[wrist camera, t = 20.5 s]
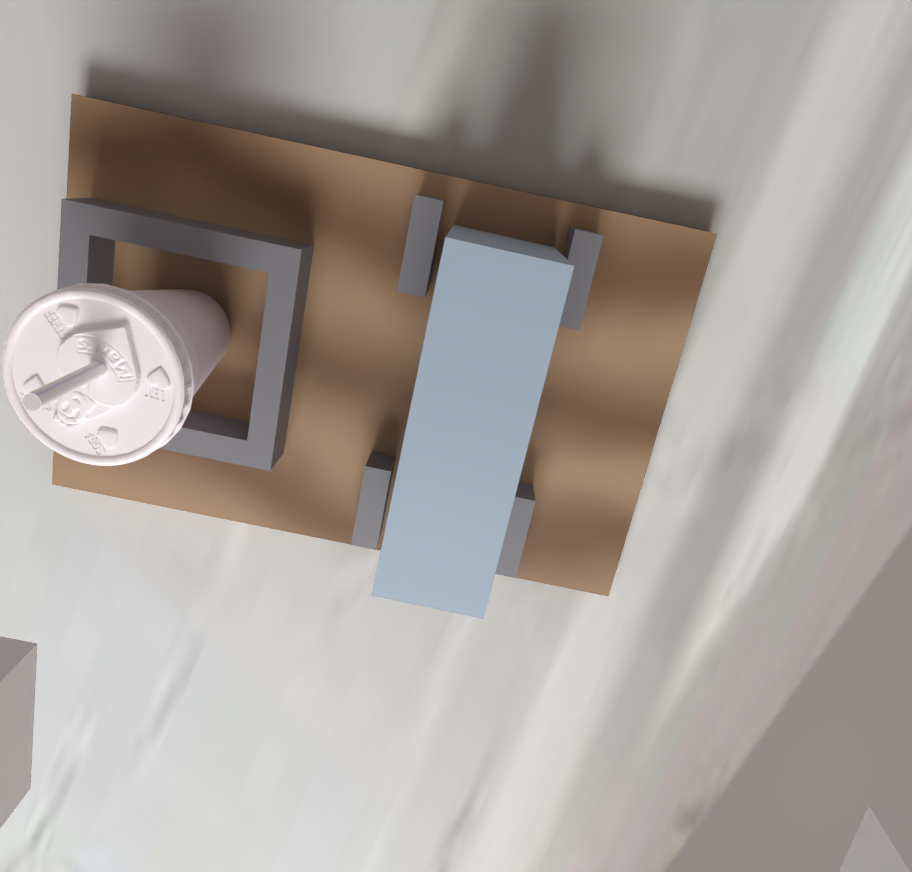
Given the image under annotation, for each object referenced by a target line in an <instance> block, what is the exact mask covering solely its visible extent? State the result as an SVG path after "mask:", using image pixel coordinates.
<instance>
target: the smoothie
mask: <svg viewBox="0 0 912 872" xmlns="http://www.w3.org/2000/svg"><path fill="white" fill-rule="evenodd" d="M230 337H231V330H230V324H229V320H228V318H227V315H226V313H225V312H224V310H223V309H222V307H221V306H220V305H219V304H218V303H217V302H216V301H215V300H214V299H213V298H212V297H210V296H209V295H207V294H205V293H203V292H200V291H197V290H192V289H169V290H133V291H129V290H126V289H122V288H118V287H115V286H111V285H107V284H93V283H79V284H75V285H72V286H68V287H64V288H61V289H57V290H56V291H54V292H51V293H49V294H46V295H44V296H42V297H40V298H39V299H37V300H35V301H34V302H32V303H31V304H30V305H28V306H27V307H26V308H25V309H24V310H23V311H22V312H21V313H20V314H19V316H18V317H17V318H16V320H15V321H14V323H13V324H12V326H11V328H10V330H9V332H8V335H7V337H6V340H5V344H4V348H3V355H2V373H3V380H4V384H5V388H6V392H7V394H8V397H9V400H10V402H11V404H12V406H13V408H14V410H15V412H16V413H17V415H18V417H19V418H20V419H21V421H22V422H23V424H24V425H25V426H26V427H27V428H28V430H29V431H30V432H31V433H32V434H33V435H34V436H35V437H36V438H37V439H39V440H40V441H41V442H42V443H43V444H45V445H46V446H48V447H49V448H50V449H52V450H54V451H55V452H57V453H59V454H61V455H63V456H65V457H67V458H70V459H72V460H75V461H78V462H81V463H85V464H90V465H98V466H116V465H123V464H127V463H131V462H134V461H137V460H139V459H142V458H144V457H146V456H148V455H149V454H151V453H152V452H154V451H155V450H157V449H159V448H160V447H162V446H164V445H166V444H167V443H168V442H169V441H170V440H171V439H172V438H173V437H174V435H175V434H176V433H177V432H178V431H179V430H180V429H181V428H182V426H183V424H184V422H185V420H186V418H187V416H188V414H189V412H190V410H191V405H192V399H193V396H194V395H195V394H196V392H197V391H198V389H199V388H200V387H201V385H202V384H203V383H204V381H205V380H206V379H207V377H208V376H209V374H210V373H211V372H212V370H213V369H214V368H215V366H216V365H217V364H218V362H219V361H220V359H221V358H222V357H223V355H224V354H225V352H226V351H227V348H228V346H229V343H230Z"/></svg>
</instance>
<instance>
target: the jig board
mask: <svg viewBox="0 0 912 872" xmlns="http://www.w3.org/2000/svg"><path fill="white" fill-rule="evenodd" d="M416 194H421V195H426V196H430V197H435V198H440V199H444V200H446V201H445V206H444V211H443V216H442V222H441V227H440V232H439V237H438V242H437V247H436V253H435V258H434V263H433V268H432V273H431V278H430V284H429V289H428V292H427V294H426V296H425V298H424V297H419V296H414V295H410V294H405V293H400V292H397V289H398V283H399V278H400V272H401V267H402V261H403V256H404V250H405V245H406V239H407V234H408V228H409V223H410V217H411V212H412V206H413V201H414V195H416ZM70 198H95V199H100V200H104V201H109V202H114V203H119V204H123V205H128V206H133V207H137V208H142V209H147V210H151V211H156V212H161V213H166V214H170V215H175V216H180V217H184V218H189V219H194V220H198V221H203V222H208V223H213V224H217V225H222V226H227V227H231V228H236V229H241V230H245V231H250V232H255V233H259V234H264V235H269V236H274V237H278V238H283V239H288V240H292V241H297V242H302V243H306V244H311V245H314V249H313V256H312V263H311V270H310V277H309V284H308V290H307V297H306V304H305V311H304V318H303V324H302V331H301V338H300V345H299V352H298V359H297V365H296V372H295V379H294V386H293V393H292V399H291V406H290V413H289V420H288V427H287V434H286V440H285V447H284V453H283V454H282V456H281V457H280V459H279V460H278V461H277V463H276V464H275V465H274V467H273V468H272V469H271V471H268V470H263V469H258V468H253V467H248V466H243V465H238V464H233V463H228V462H223V461H218V460H214V459H209V458H204V457H199V456H194V455H189V454H184V453H179V452H174V451H169V450H164V449H157V450H155V451H154V452H152V453H151V454H149V455H148V456H146V457H144V458H142V459H139V460H137V461H134V462H131V463H127V464H123V465H116V466H98V465H90V464H85V463H81V462H78V461H75V460H72V459H70V458H67V457H65V456H63V455H61V454H59V453H57V452H55V451H54V457H53V476H52V484H53V485H58V486H63V487H68V488H73V489H78V490H83V491H88V492H93V493H98V494H103V495H108V496H113V497H118V498H123V499H128V500H133V501H138V502H143V503H148V504H153V505H158V506H163V507H168V508H173V509H178V510H183V511H188V512H192V513H197V514H202V515H207V516H212V517H217V518H222V519H227V520H232V521H237V522H242V523H247V524H252V525H257V526H262V527H267V528H272V529H277V530H282V531H287V532H292V533H297V534H302V535H307V536H312V537H317V538H322V539H327V540H332V541H336V542H341V543H346V544H351V542H352V536H353V531H354V525H355V520H356V514H357V509H358V503H359V498H360V492H361V487H362V481H363V476H364V470H365V466H366V463H367V461H368V458H369V456H370V454H371V452H375V453H379V454H384V455H389V456H394V457H396V459H395V464H394V469H393V475H392V480H391V485H390V490H389V495H388V500H387V506H386V511H385V516H384V521H383V526H382V531H381V535H380V538H379V542H378V545H377V549H376V550H381V548H382V543H383V538H384V533H385V528H386V523H387V518H388V513H389V509H390V504H391V499H392V494H393V489H394V484H395V479H396V475H397V470H398V465H399V460H400V455H401V450H402V445H403V440H404V436H405V431H406V426H407V421H408V416H409V411H410V406H411V401H412V397H413V392H414V387H415V382H416V377H417V372H418V367H419V363H420V358H421V353H422V348H423V343H424V338H425V333H426V328H427V324H428V319H429V314H430V309H431V304H432V299H433V294H434V290H435V285H436V280H437V275H438V270H439V265H440V260H441V255H442V251H443V246H444V241H445V237H446V235H447V234H448V232H449V231H450V229H451V228H452V226H453V225H457V226H462V227H466V228H471V229H475V230H480V231H484V232H489V233H493V234H497V235H502V236H506V237H511V238H515V239H520V240H524V241H529V242H533V243H537V244H542V245H546V246H551V247H555V248H556V249H557V250H558V251H559V252H560V253H561V254H562V255H563V254H564V250H565V246H566V242H567V238H568V234H569V230H570V227H574V228H579V229H583V230H588V231H592V232H597V233H599V234H602V235H604V237H603V241H602V245H601V249H600V252H599V256H598V260H597V264H596V268H595V272H594V276H593V280H592V284H591V288H590V291H589V295H588V299H587V303H586V307H585V311H584V315H583V319H582V323H581V326H580V330H575V329H570V328H565V327H561V326H559V328H558V332H557V336H556V340H555V343H554V347H553V351H552V355H551V359H550V363H549V367H548V371H547V374H546V378H545V382H544V386H543V390H542V394H541V398H540V402H539V405H538V409H537V413H536V417H535V421H534V425H533V429H532V433H531V437H530V440H529V444H528V448H527V452H526V456H525V460H524V464H523V468H522V471H521V475H520V479H519V482H521V483H526V484H531V485H533V488H534V494H535V500H536V502H535V506H534V509H533V513H532V517H531V521H530V525H529V529H528V533H527V537H526V541H525V544H524V548H523V552H522V556H521V560H520V564H519V568H518V572H517V576H516V578H520V579H525V580H530V581H535V582H540V583H545V584H550V585H555V586H560V587H565V588H570V589H575V590H580V591H585V592H590V593H595V594H600V595H605V596H609V592H610V589H611V586H612V582H613V579H614V576H615V572H616V569H617V566H618V562H619V559H620V556H621V552H622V549H623V546H624V542H625V539H626V536H627V532H628V529H629V526H630V522H631V519H632V516H633V512H634V509H635V506H636V502H637V499H638V496H639V492H640V489H641V486H642V482H643V479H644V476H645V472H646V469H647V466H648V462H649V459H650V456H651V452H652V449H653V446H654V442H655V439H656V436H657V432H658V429H659V426H660V422H661V419H662V416H663V412H664V409H665V406H666V402H667V399H668V396H669V392H670V389H671V386H672V382H673V379H674V376H675V372H676V369H677V366H678V362H679V359H680V356H681V352H682V349H683V346H684V342H685V339H686V336H687V332H688V329H689V326H690V322H691V319H692V316H693V312H694V309H695V306H696V302H697V299H698V296H699V292H700V289H701V286H702V282H703V279H704V276H705V272H706V269H707V266H708V262H709V259H710V256H711V252H712V249H713V246H714V242H715V239H716V236H717V234H716V233H712V232H707V231H703V230H698V229H693V228H689V227H684V226H680V225H675V224H670V223H666V222H661V221H656V220H652V219H647V218H643V217H638V216H633V215H629V214H624V213H620V212H615V211H610V210H606V209H601V208H597V207H592V206H587V205H583V204H578V203H573V202H569V201H564V200H560V199H555V198H550V197H546V196H541V195H537V194H532V193H527V192H523V191H518V190H514V189H509V188H504V187H500V186H495V185H490V184H486V183H481V182H477V181H472V180H467V179H463V178H458V177H454V176H449V175H444V174H440V173H435V172H431V171H426V170H421V169H417V168H412V167H407V166H403V165H398V164H394V163H389V162H384V161H380V160H375V159H371V158H366V157H361V156H357V155H352V154H347V153H343V152H338V151H334V150H329V149H324V148H320V147H315V146H311V145H306V144H301V143H297V142H292V141H288V140H283V139H278V138H274V137H269V136H264V135H260V134H255V133H251V132H246V131H241V130H237V129H232V128H228V127H223V126H218V125H214V124H209V123H205V122H200V121H195V120H191V119H186V118H181V117H177V116H172V115H168V114H163V113H158V112H154V111H149V110H145V109H140V108H135V107H131V106H126V105H122V104H117V103H112V102H108V101H103V100H98V99H94V98H89V97H85V96H80V95H75V94H72V102H71V121H70V141H69V161H68V180H67V199H70ZM268 278H269V273H268V272H263V271H258V270H254V269H249V268H244V267H239V266H235V265H230V264H225V263H220V262H216V261H211V260H206V259H201V258H197V257H192V256H187V255H183V254H178V253H173V252H168V251H164V250H159V249H154V248H149V247H145V246H140V245H135V244H131V243H126V242H121V241H116V240H115V254H114V269H113V283H112V286H115V287H118V288H122V289H126V290H129V291H133V290H169V289H192V290H197V291H200V292H203V293H205V294H207V295H209V296H210V297H212V298H213V299H214V300H215V301H216V302H217V303H218V304H219V305H220V306H221V307H222V309H223V310H224V312H225V313H226V315H227V318H228V320H229V324H230V330H231V337H230V343H229V346H228V348H227V351H226V352H225V354H224V355H223V357H222V358H221V359H220V361H219V362H218V364H217V365H216V366H215V368H214V369H213V370H212V372H211V373H210V374H209V376H208V377H207V379H206V380H205V381H204V383H203V384H202V385H201V387H200V388H199V389H198V391H197V392H196V394H195V395H194V396H193V399H192V405H191V410H195V411H200V412H204V413H209V414H214V415H219V416H224V417H229V418H234V419H238V420H243V421H248V422H250V415H251V408H252V400H253V392H254V385H255V377H256V369H257V362H258V354H259V346H260V339H261V331H262V323H263V316H264V308H265V301H266V293H267V285H268Z"/></svg>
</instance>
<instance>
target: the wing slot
mask: <svg viewBox="0 0 912 872" xmlns="http://www.w3.org/2000/svg"><path fill="white" fill-rule="evenodd" d="M445 201H446V200H444V199H440V198H435V197H430V196H426V195H421V194H416V195H414V201H413V206H412V212H411V217H410V223H409V228H408V234H407V239H406V245H405V250H404V256H403V261H402V267H401V272H400V278H399V283H398V289H397V292H400V293H405V294H410V295H414V296H419V297H424V298H425V296H426V294H427V292H428V289H429V284H430V278H431V273H432V268H433V263H434V258H435V253H436V247H437V242H438V237H439V232H440V227H441V222H442V216H443V211H444V206H445ZM603 237H604V235H602V234H599V233H597V232H592V231H588V230H583V229H579V228H574V227H570V230H569V234H568V238H567V242H566V246H565V250H564V254H563V256H564V257H565V258H566V259H567V260H568V261H570V262H571V263H572V264H573V265H574V270H573V274H572V277H571V281H570V285H569V289H568V293H567V297H566V301H565V305H564V309H563V312H562V316H561V320H560V324H559V326H561V327H565V328H570V329H575V330H580V326H581V323H582V319H583V315H584V311H585V307H586V303H587V299H588V295H589V291H590V288H591V284H592V280H593V276H594V272H595V268H596V264H597V260H598V256H599V252H600V249H601V245H602V241H603ZM395 459H396V457H394V456H389V455H384V454H379V453H375V452H371V454H370V456H369V458H368V461H367V463H366V466H365V470H364V476H363V481H362V487H361V492H360V498H359V503H358V509H357V514H356V520H355V525H354V531H353V536H352V542H351V545H355V546H360V547H365V548H370V549H375V550H376V549H377V545H378V542H379V538H380V535H381V531H382V526H383V521H384V516H385V511H386V506H387V500H388V495H389V490H390V485H391V480H392V475H393V469H394V464H395ZM535 502H536V500H535V494H534V488H533V485H531V484H526V483H521V482H519V483H518V487H517V491H516V495H515V499H514V502H513V506H512V510H511V514H510V518H509V522H508V526H507V530H506V534H505V537H504V541H503V545H502V549H501V553H500V557H499V561H498V565H497V568H496V572H495V574H499V575H504V576H509V577H514V578H516V576H517V572H518V568H519V564H520V560H521V556H522V552H523V548H524V544H525V541H526V537H527V533H528V529H529V525H530V521H531V517H532V513H533V509H534V506H535Z"/></svg>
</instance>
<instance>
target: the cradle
mask: <svg viewBox="0 0 912 872" xmlns="http://www.w3.org/2000/svg"><path fill="white" fill-rule="evenodd" d="M115 240H116V241H121V242H126V243H131V244H135V245H140V246H145V247H149V248H154V249H159V250H164V251H168V252H173V253H178V254H183V255H187V256H192V257H197V258H201V259H206V260H211V261H216V262H220V263H225V264H230V265H235V266H239V267H244V268H249V269H254V270H258V271H263V272H268V273H269V278H268V285H267V293H266V301H265V308H264V316H263V323H262V331H261V339H260V346H259V354H258V362H257V369H256V377H255V385H254V392H253V400H252V408H251V415H250V422H248V421H243V420H238V419H234V418H229V417H224V416H219V415H214V414H209V413H204V412H200V411H195V410H190V412H189V414H188V416H187V418H186V420H185V422H184V424H183V426H182V428H181V429H180V430H179V431H178V432H177V433H176V434H175V435H174V437H173V438H172V439H171V440H170V441H169V442H168V443H167V444H166V445H164V446H162V447H160V448H159V449H164V450H169V451H174V452H179V453H184V454H189V455H194V456H199V457H204V458H209V459H214V460H218V461H223V462H228V463H233V464H238V465H243V466H248V467H253V468H258V469H263V470H268V471H271V469H272V468H273V467H274V465H275V464H276V463H277V461H278V460H279V459H280V457H281V456H282V454H283V453H284V447H285V440H286V434H287V427H288V420H289V413H290V406H291V399H292V393H293V386H294V379H295V372H296V365H297V359H298V352H299V345H300V338H301V331H302V324H303V318H304V311H305V304H306V297H307V290H308V284H309V277H310V270H311V263H312V256H313V249H314V245H311V244H306V243H302V242H297V241H292V240H288V239H283V238H278V237H274V236H269V235H264V234H259V233H255V232H250V231H245V230H241V229H236V228H231V227H227V226H222V225H217V224H213V223H208V222H203V221H198V220H194V219H189V218H184V217H180V216H175V215H170V214H166V213H161V212H156V211H151V210H147V209H142V208H137V207H133V206H128V205H123V204H119V203H114V202H109V201H104V200H100V199H95V198H70V199H62V207H61V227H60V247H59V268H58V288H57V289H61V288H64V287H68V286H72V285H75V284H79V283H93V284H107V285H111V286H112V283H113V269H114V254H115Z"/></svg>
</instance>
